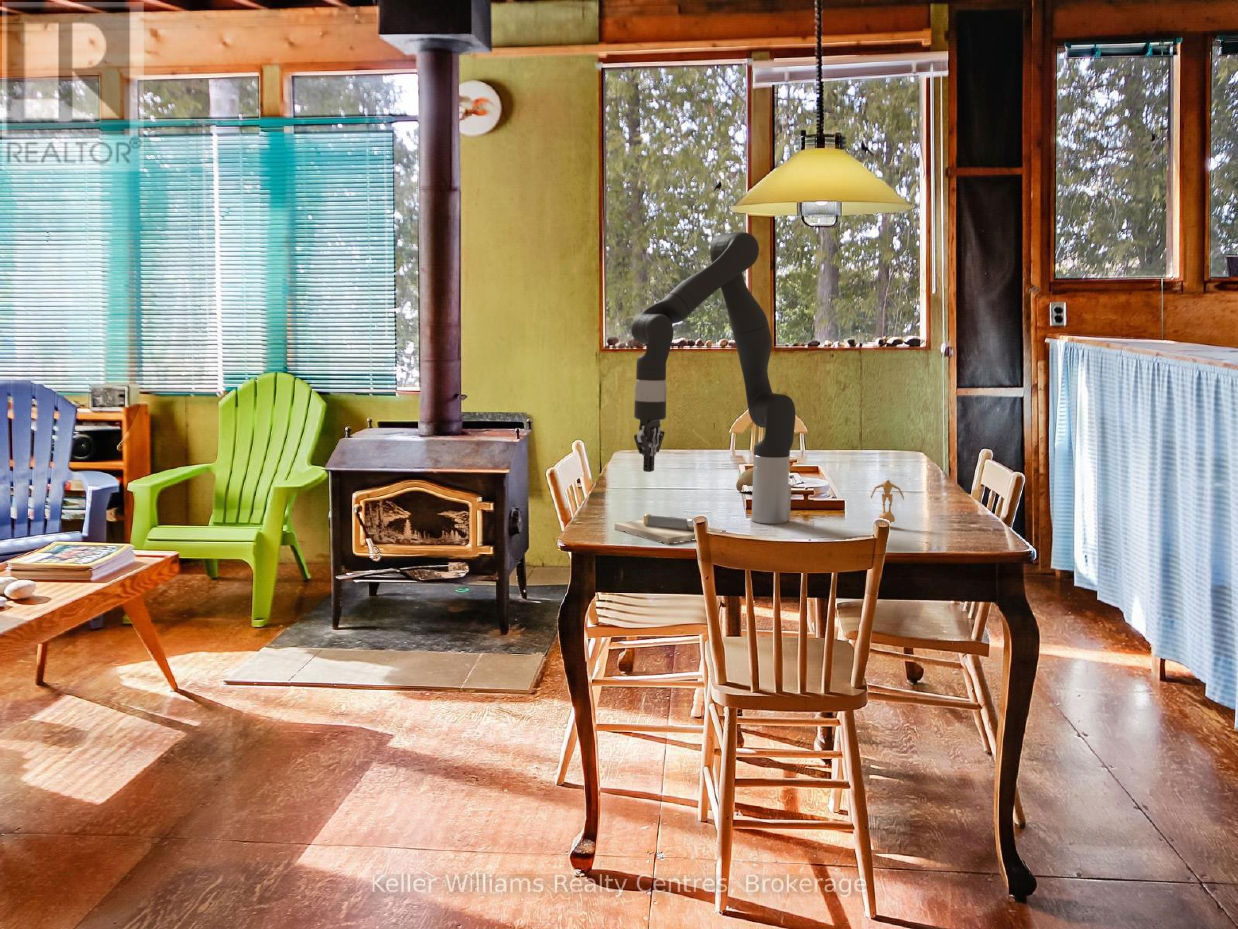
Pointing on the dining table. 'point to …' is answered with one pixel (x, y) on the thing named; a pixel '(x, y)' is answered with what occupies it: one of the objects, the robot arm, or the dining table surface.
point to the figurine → (887, 488)
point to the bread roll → (745, 479)
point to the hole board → (659, 531)
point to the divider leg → (668, 522)
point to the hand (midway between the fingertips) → (648, 471)
